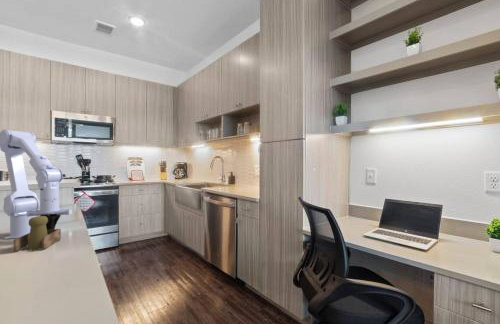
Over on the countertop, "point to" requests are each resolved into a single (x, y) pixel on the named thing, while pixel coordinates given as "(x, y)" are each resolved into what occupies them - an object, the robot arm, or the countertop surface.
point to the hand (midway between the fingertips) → (49, 233)
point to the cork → (37, 232)
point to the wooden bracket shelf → (48, 240)
